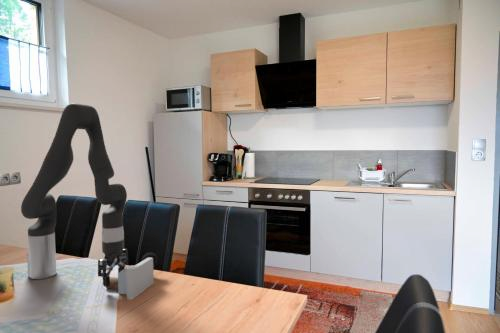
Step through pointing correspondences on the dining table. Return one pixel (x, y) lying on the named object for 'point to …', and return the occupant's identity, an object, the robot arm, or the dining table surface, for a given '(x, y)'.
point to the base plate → (139, 278)
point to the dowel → (113, 283)
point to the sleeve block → (123, 281)
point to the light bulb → (151, 255)
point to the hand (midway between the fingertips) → (114, 281)
